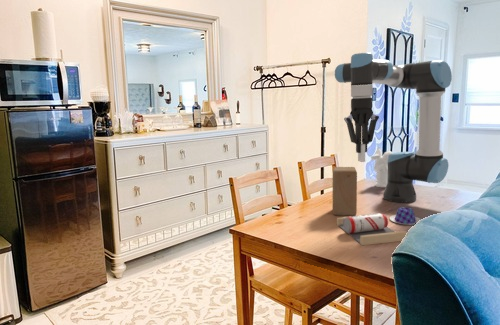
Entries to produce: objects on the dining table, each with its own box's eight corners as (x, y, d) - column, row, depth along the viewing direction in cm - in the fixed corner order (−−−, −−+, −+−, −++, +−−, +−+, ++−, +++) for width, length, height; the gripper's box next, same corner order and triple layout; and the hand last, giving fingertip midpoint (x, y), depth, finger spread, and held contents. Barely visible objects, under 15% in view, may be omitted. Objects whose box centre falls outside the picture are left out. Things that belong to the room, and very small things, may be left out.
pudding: (425, 226, 144) (425, 213, 143) (392, 225, 147) (393, 213, 146) (417, 216, 156) (417, 204, 155) (387, 216, 158) (387, 204, 157)
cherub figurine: (395, 187, 205) (397, 148, 201) (376, 189, 202) (377, 150, 198) (382, 182, 217) (383, 145, 213) (363, 184, 213) (364, 147, 209)
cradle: (375, 220, 152) (375, 213, 152) (406, 240, 131) (407, 232, 130) (336, 224, 149) (336, 217, 149) (362, 245, 128) (362, 237, 128)
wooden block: (356, 216, 159) (357, 170, 155) (332, 215, 161) (332, 170, 157) (354, 209, 168) (355, 166, 165) (332, 209, 170) (332, 166, 167)
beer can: (341, 215, 141) (379, 211, 145) (342, 232, 141) (380, 227, 145) (349, 218, 135) (388, 213, 139) (350, 235, 135) (389, 230, 139)
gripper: (372, 96, 139) (372, 158, 143) (340, 98, 136) (341, 161, 141) (383, 96, 131) (382, 161, 136) (349, 98, 129) (349, 164, 133)
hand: (361, 161), depth 138 cm, fingers closed
